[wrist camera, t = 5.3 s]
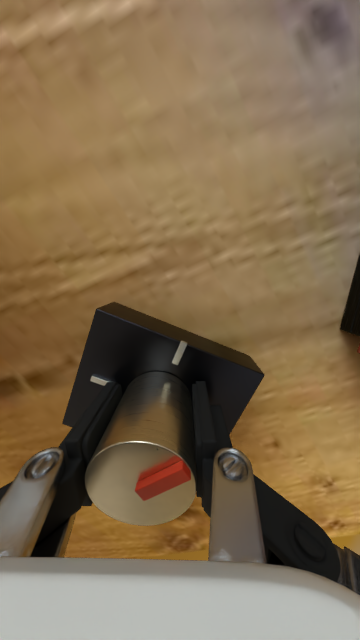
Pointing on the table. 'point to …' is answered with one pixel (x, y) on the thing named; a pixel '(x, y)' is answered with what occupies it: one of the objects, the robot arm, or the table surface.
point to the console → (159, 362)
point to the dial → (146, 454)
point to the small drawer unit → (353, 306)
